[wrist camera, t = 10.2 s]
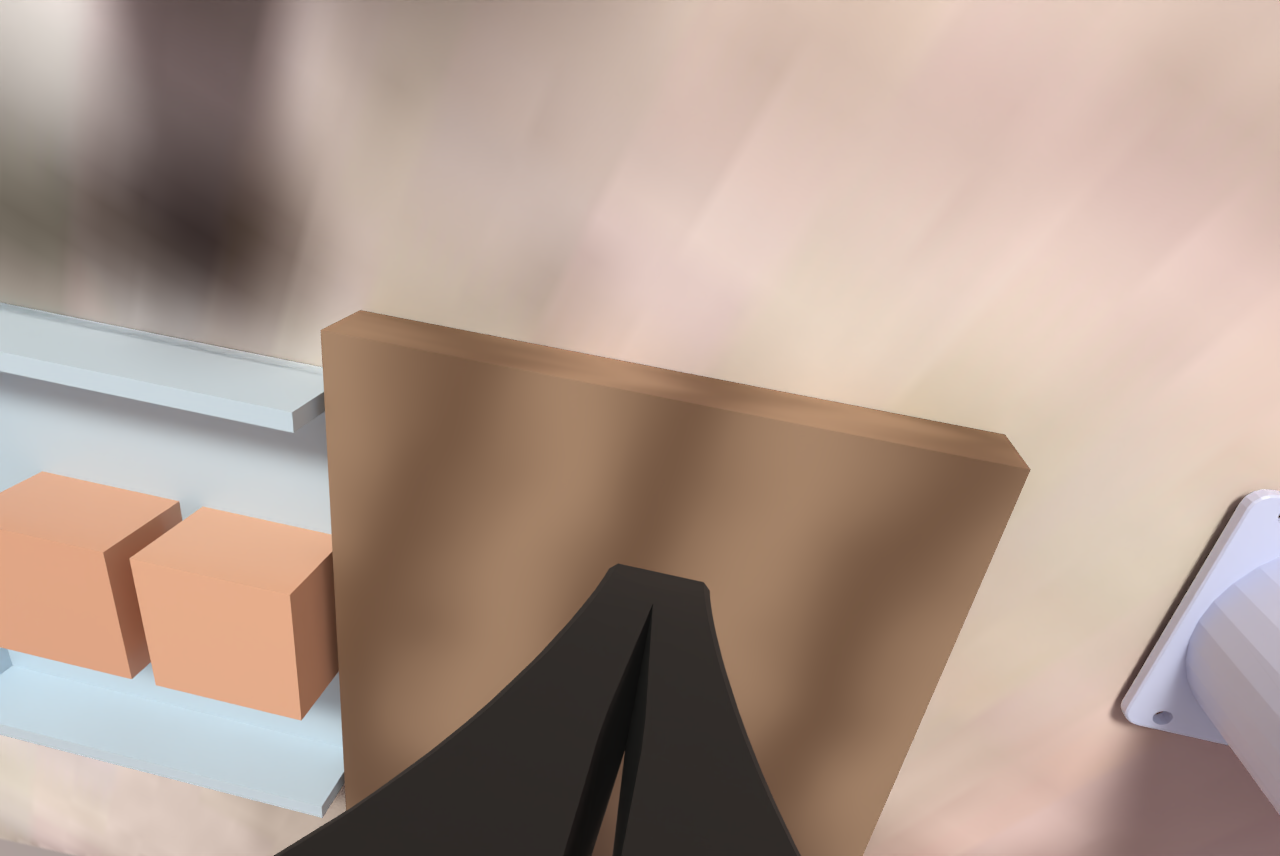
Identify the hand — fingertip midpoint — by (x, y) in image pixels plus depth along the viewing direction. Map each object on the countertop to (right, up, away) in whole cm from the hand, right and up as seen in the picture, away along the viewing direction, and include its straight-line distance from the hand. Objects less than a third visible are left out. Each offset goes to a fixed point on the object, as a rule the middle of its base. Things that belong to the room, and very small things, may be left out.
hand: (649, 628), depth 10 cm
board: (-1, -4, +14) cm, 14 cm away
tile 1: (-18, -1, +15) cm, 23 cm away
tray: (-17, -1, +15) cm, 23 cm away
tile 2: (-12, -2, +14) cm, 19 cm away
